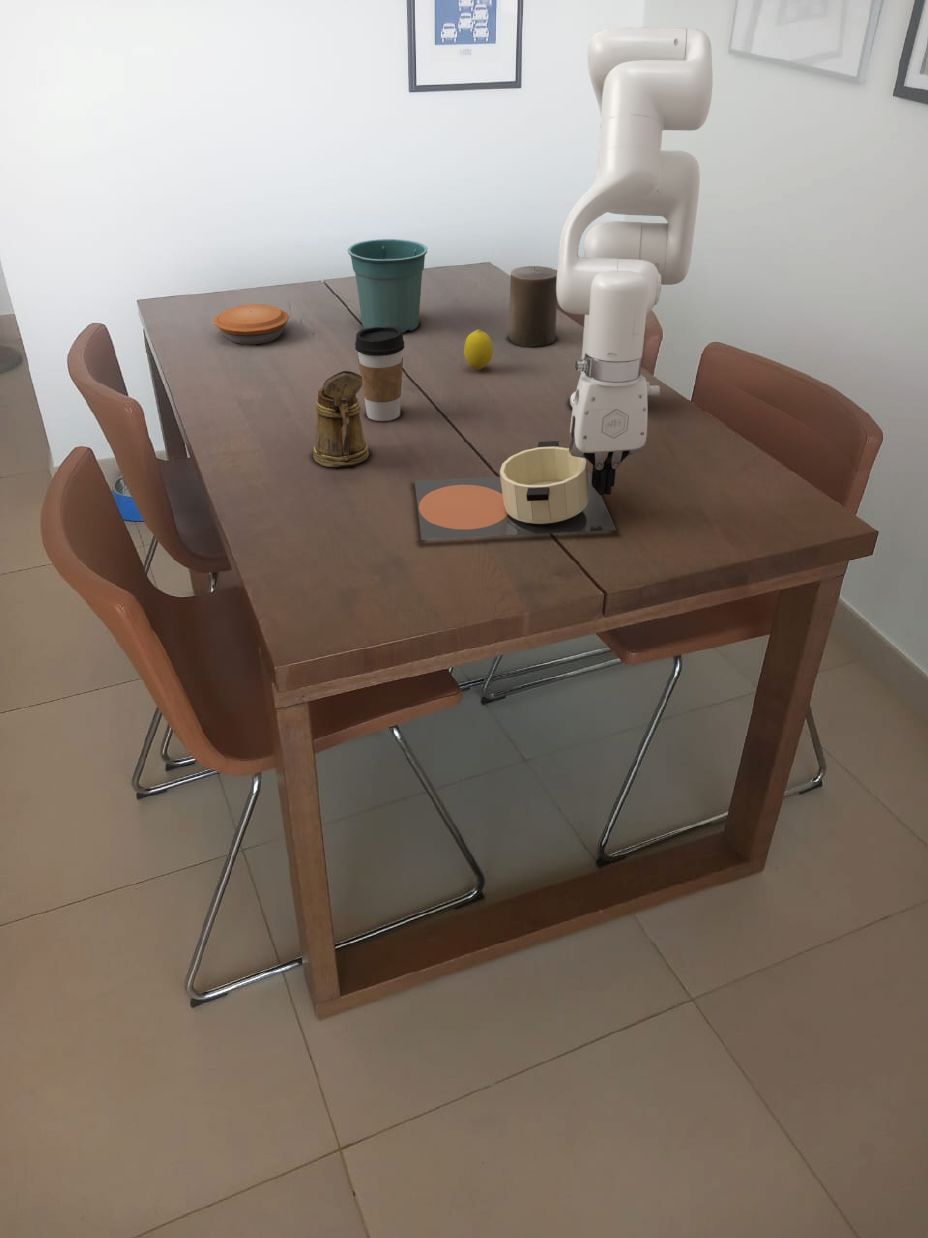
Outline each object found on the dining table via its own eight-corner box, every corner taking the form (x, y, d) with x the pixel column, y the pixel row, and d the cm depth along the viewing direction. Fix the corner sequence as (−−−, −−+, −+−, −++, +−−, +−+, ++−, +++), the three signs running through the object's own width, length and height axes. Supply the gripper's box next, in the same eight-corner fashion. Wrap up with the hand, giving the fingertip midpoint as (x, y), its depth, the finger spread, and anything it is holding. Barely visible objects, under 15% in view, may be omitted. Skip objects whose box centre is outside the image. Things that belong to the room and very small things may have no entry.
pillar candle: (541, 350, 202) (544, 275, 194) (500, 341, 207) (501, 267, 198) (563, 335, 209) (567, 263, 200) (523, 327, 213) (525, 255, 205)
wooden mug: (324, 484, 156) (313, 374, 145) (309, 447, 166) (298, 342, 156) (379, 476, 158) (373, 367, 147) (361, 441, 168) (354, 336, 158)
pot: (592, 474, 152) (589, 438, 149) (584, 529, 139) (582, 492, 136) (512, 477, 155) (507, 442, 152) (497, 532, 142) (492, 495, 139)
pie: (306, 330, 212) (303, 307, 209) (256, 353, 201) (253, 329, 198) (251, 317, 219) (248, 295, 216) (200, 339, 208) (197, 315, 205)
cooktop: (590, 476, 158) (591, 471, 157) (615, 534, 143) (616, 529, 143) (414, 484, 156) (414, 480, 155) (421, 544, 141) (421, 539, 141)
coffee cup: (400, 426, 173) (396, 341, 164) (353, 422, 174) (347, 338, 166) (412, 406, 180) (409, 324, 171) (367, 403, 181) (361, 321, 172)
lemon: (459, 372, 193) (459, 332, 188) (470, 363, 197) (470, 323, 192) (486, 377, 191) (486, 336, 186) (496, 366, 195) (497, 326, 190)
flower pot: (385, 307, 224) (382, 233, 214) (444, 322, 216) (443, 245, 207) (337, 328, 213) (331, 251, 204) (396, 344, 205) (393, 264, 196)
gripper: (567, 378, 131) (559, 506, 141) (675, 372, 134) (659, 498, 143) (552, 361, 137) (545, 484, 147) (655, 356, 140) (642, 477, 149)
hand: (602, 491), depth 145 cm, fingers closed
